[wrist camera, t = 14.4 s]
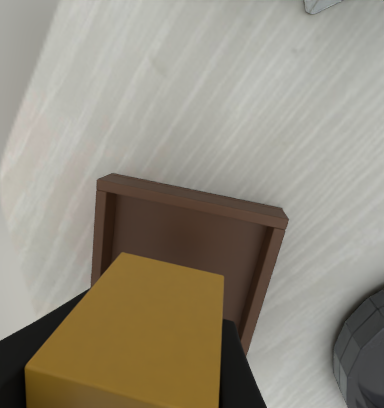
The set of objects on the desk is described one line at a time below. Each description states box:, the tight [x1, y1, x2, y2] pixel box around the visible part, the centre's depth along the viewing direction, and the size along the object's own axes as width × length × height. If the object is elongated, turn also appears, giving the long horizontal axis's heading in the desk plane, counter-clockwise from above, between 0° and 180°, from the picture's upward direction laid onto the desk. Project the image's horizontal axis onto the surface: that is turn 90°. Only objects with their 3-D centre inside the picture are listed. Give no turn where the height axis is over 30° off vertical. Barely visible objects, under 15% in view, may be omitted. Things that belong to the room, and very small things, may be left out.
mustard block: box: [25, 252, 224, 408], centre depth 8 cm, size 4×4×5 cm
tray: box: [91, 173, 289, 356], centre depth 16 cm, size 12×10×2 cm
